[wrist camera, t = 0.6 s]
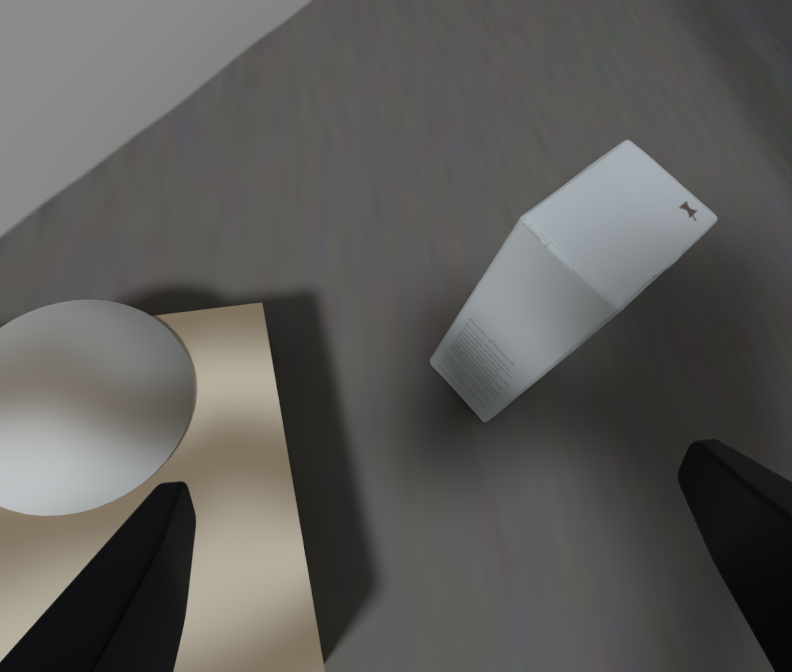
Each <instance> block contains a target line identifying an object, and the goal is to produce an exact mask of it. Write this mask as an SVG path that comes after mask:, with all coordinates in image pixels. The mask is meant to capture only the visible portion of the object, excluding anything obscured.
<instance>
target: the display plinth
mask: <svg viewBox="0 0 792 672" xmlns="http://www.w3.org/2000/svg"><path fill="white" fill-rule="evenodd" d="M177 481H183V482H185V483H186V484H187V486H188V488H189V492H190V495H191V499H192V503H193V506H194V510H195V514H196V531H195V540H194V549H193V558H192V567H191V576H190V584H189V593H188V602H187V610H186V617H185V622H184V627H183V632H182V637H181V641H180V645H179V650H178V654H177V659H176V663H175V667H174V672H325V669H324V663H323V657H322V651H321V645H320V639H319V634H318V628H317V622H316V616H315V610H314V604H313V598H312V592H311V586H310V581H309V575H308V569H307V563H306V557H305V551H304V545H303V539H302V534H301V528H300V522H299V516H298V510H297V504H296V498H295V492H294V487H293V481H292V475H291V469H290V463H289V457H288V451H287V445H286V439H285V434H284V428H283V422H282V416H281V410H280V404H279V398H278V392H277V387H276V381H275V375H274V369H273V363H272V357H271V351H270V345H269V339H268V334H267V328H266V322H265V316H264V310H263V304H262V303H254V304H245V305H237V306H229V307H221V308H213V309H205V310H196V311H188V312H180V313H172V314H164V315H156V316H150V315H148V314H147V313H145V312H143V311H141V310H138V309H136V308H133V307H131V306H128V305H124V304H120V303H117V302H110V301H104V300H74V301H67V302H61V303H56V304H52V305H48V306H45V307H41V308H39V309H36V310H33V311H31V312H28V313H26V314H24V315H22V316H20V317H18V318H16V319H14V320H12V321H10V322H9V323H7V324H6V325H4V326H2V327H1V328H0V662H1V661H2V659H3V658H4V657H5V656H6V655H7V654H8V653H9V652H10V650H11V649H12V648H13V647H14V646H15V645H16V644H17V643H18V641H19V640H20V639H21V638H22V637H23V636H24V635H25V633H26V632H27V631H28V630H29V629H30V628H31V627H32V626H33V624H34V623H35V622H36V621H37V620H38V619H39V618H40V617H41V615H42V614H43V613H44V612H45V611H46V610H47V609H48V608H49V606H50V605H51V604H52V603H53V602H54V601H55V600H56V599H57V597H58V596H59V595H60V594H61V593H62V592H63V591H64V590H65V588H66V587H67V586H68V585H69V584H70V583H71V582H72V581H73V579H74V578H75V577H76V576H77V575H78V574H79V573H80V572H81V570H82V569H83V568H84V567H85V566H86V565H87V564H88V563H89V561H90V560H91V559H92V558H93V557H94V556H95V555H96V554H97V552H98V551H99V550H100V549H101V548H102V547H103V546H104V545H105V543H106V542H107V541H108V540H109V539H110V538H111V537H112V536H113V534H114V533H115V532H116V531H117V530H118V529H119V528H120V527H121V525H122V524H123V523H124V522H125V521H126V520H127V519H128V518H129V516H130V515H131V514H132V513H133V512H134V511H135V510H136V509H137V507H138V506H139V505H140V504H141V503H142V502H143V501H144V500H145V498H146V497H147V496H148V495H149V494H150V493H151V492H152V491H153V489H154V488H155V487H156V486H157V485H159V484H161V483H164V482H177Z"/></svg>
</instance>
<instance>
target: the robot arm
mask: <svg viewBox="0 0 792 672" xmlns="http://www.w3.org/2000/svg"><path fill="white" fill-rule="evenodd" d="M678 481H679V484H680V487H681V489H682V492H683V494H684V496H685V498H686V501H687V503H688V505H689V507H690V510H691V512H692V514H693V517H694V519H695V521H696V523H697V526H698V528H699V530H700V533H701V535H702V537H703V539H704V542H705V544H706V546H707V549H708V551H709V553H710V555H711V557H712V559H713V561H714V563H715V565H716V567H717V569H718V571H719V573H720V574H721V576H722V578H723V580H724V582H725V583H726V585H727V587H728V589H729V590H730V592H731V594H732V596H733V598H734V599H735V601H736V603H737V605H738V607H739V608H740V610H741V612H742V614H743V616H744V617H745V619H746V621H747V623H748V624H749V626H750V628H751V630H752V632H753V633H754V635H755V637H756V639H757V641H758V642H759V644H760V646H761V648H762V649H763V651H764V653H765V655H766V657H767V658H768V660H769V662H770V664H771V666H772V667H773V669H774V671H775V672H792V482H790V481H788V480H787V479H785V478H783V477H781V476H780V475H778V474H776V473H774V472H773V471H771V470H769V469H767V468H766V467H764V466H762V465H760V464H759V463H757V462H755V461H753V460H752V459H750V458H748V457H746V456H745V455H743V454H741V453H739V452H738V451H736V450H734V449H732V448H731V447H729V446H727V445H725V444H724V443H722V442H720V441H718V440H714V439H709V440H696V441H694V442H692V443H691V444H690V446H689V447H688V450H687V452H686V454H685V457H684V459H683V461H682V464H681V466H680V468H679V471H678ZM195 531H196V514H195V510H194V506H193V503H192V499H191V495H190V492H189V488H188V486H187V484H186V483H185V482H183V481H177V482H164V483H161V484H159V485H157V486H156V487H155V488H154V489H153V491H152V492H151V493H150V494H149V495H148V496H147V497H146V498H145V500H144V501H143V502H142V503H141V504H140V505H139V506H138V507H137V509H136V510H135V511H134V512H133V513H132V514H131V515H130V516H129V518H128V519H127V520H126V521H125V522H124V523H123V524H122V525H121V527H120V528H119V529H118V530H117V531H116V532H115V533H114V534H113V536H112V537H111V538H110V539H109V540H108V541H107V542H106V543H105V545H104V546H103V547H102V548H101V549H100V550H99V551H98V552H97V554H96V555H95V556H94V557H93V558H92V559H91V560H90V561H89V563H88V564H87V565H86V566H85V567H84V568H83V569H82V570H81V572H80V573H79V574H78V575H77V576H76V577H75V578H74V579H73V581H72V582H71V583H70V584H69V585H68V586H67V587H66V588H65V590H64V591H63V592H62V593H61V594H60V595H59V596H58V597H57V599H56V600H55V601H54V602H53V603H52V604H51V605H50V606H49V608H48V609H47V610H46V611H45V612H44V613H43V614H42V615H41V617H40V618H39V619H38V620H37V621H36V622H35V623H34V624H33V626H32V627H31V628H30V629H29V630H28V631H27V632H26V633H25V635H24V636H23V637H22V638H21V639H20V640H19V641H18V643H17V644H16V645H15V646H14V647H13V648H12V649H11V650H10V652H9V653H8V654H7V655H6V656H5V657H4V658H3V659H2V661H1V662H0V672H174V667H175V663H176V659H177V654H178V650H179V645H180V641H181V637H182V632H183V627H184V622H185V617H186V610H187V602H188V593H189V584H190V576H191V567H192V558H193V549H194V540H195Z"/></svg>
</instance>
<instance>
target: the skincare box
mask: <svg viewBox="0 0 792 672" xmlns="http://www.w3.org/2000/svg"><path fill="white" fill-rule="evenodd" d="M716 221H717V216H716V215H715V214H714V213H713V212H712V211H711V210H710V209H708V208H707V207H706V206H705V205H704V204H703V203H702V202H700V201H699V200H698V199H697V198H696V197H695V196H694V195H692V194H691V193H690V192H689V191H688V190H687V189H686V188H684V187H683V186H682V185H681V184H680V183H679V182H678V181H677V180H676V179H674V178H673V177H672V176H671V175H670V174H669V173H668V172H667V171H665V170H664V169H663V168H662V167H661V166H660V165H659V164H658V163H656V162H655V161H654V160H653V159H652V158H651V157H650V156H648V155H647V154H646V153H645V152H644V151H642V150H641V149H640V148H639V147H637V146H636V145H635V144H634V143H633V142H631V141H629V140H625V141H623V142H622V143H621V144H619V145H618V146H616V147H615V148H613V149H612V150H611V151H609V152H608V153H606V154H605V155H604V156H602V157H601V158H599V159H598V160H596V161H595V162H594V163H592V164H591V165H589V166H588V167H587V168H586V169H584V170H583V171H582V172H580V173H579V174H578V175H576V176H575V177H574V178H573V179H571V180H570V181H569V182H567V183H566V184H565V185H563V186H562V187H561V188H559V189H558V190H557V191H555V192H554V193H553V194H551V195H550V196H548V197H547V198H546V199H544V200H543V201H542V202H540V203H539V204H538V205H536V206H535V207H534V208H532V209H531V210H529V211H528V212H527V213H525V214H524V215H522V216H521V217H520V219H519V221H518V222H517V224H516V225H515V227H514V228H513V230H512V231H511V233H510V235H509V236H508V238H507V239H506V241H505V242H504V244H503V246H502V247H501V249H500V250H499V252H498V253H497V255H496V257H495V258H494V260H493V261H492V263H491V264H490V266H489V267H488V269H487V270H486V272H485V274H484V275H483V277H482V278H481V280H480V281H479V283H478V285H477V286H476V288H475V289H474V291H473V292H472V294H471V295H470V297H469V299H468V300H467V302H466V303H465V305H464V306H463V308H462V310H461V311H460V313H459V314H458V316H457V317H456V319H455V321H454V322H453V324H452V325H451V327H450V328H449V330H448V332H447V333H446V335H445V336H444V338H443V340H442V341H441V343H440V344H439V346H438V347H437V349H436V351H435V352H434V354H433V356H432V357H431V358H430V364H431V365H432V367H433V368H434V369H435V370H436V371H437V372H438V373H439V374H440V375H441V376H442V377H443V378H444V379H445V380H446V382H447V383H448V384H449V385H450V386H451V387H452V388H453V389H454V390H455V391H456V392H457V394H458V395H459V396H460V397H461V398H462V399H463V400H464V401H465V402H466V403H467V405H468V406H469V407H470V408H471V409H472V410H473V411H474V412H475V413H476V415H477V416H478V417H479V418H480V419H481V420H482V421H483V422H488V421H489V420H490V419H492V418H493V417H494V416H495V415H497V414H498V413H499V412H500V411H501V410H503V409H504V408H505V407H506V406H507V405H509V404H510V403H511V402H512V401H513V400H514V399H516V398H517V397H518V396H519V395H521V394H522V393H523V392H524V391H525V390H527V389H528V388H529V387H530V386H531V385H533V384H534V383H535V382H536V381H538V380H539V379H540V378H541V377H543V376H544V375H545V374H546V373H547V372H549V371H550V370H551V369H552V368H553V367H555V366H556V365H557V364H558V363H560V362H561V361H562V360H563V359H564V358H566V357H567V356H568V355H569V354H571V353H572V352H573V351H574V350H575V349H577V348H578V347H579V346H580V345H581V344H582V343H584V342H585V341H586V340H587V339H588V338H590V337H591V336H592V335H593V334H594V333H595V332H597V331H598V330H599V329H600V328H601V327H603V326H604V325H605V324H606V323H607V322H609V321H610V320H611V319H612V318H613V317H615V316H616V315H617V314H618V313H619V312H621V311H622V310H623V309H624V308H625V307H626V306H627V305H628V304H629V303H630V302H631V301H632V300H634V299H635V298H636V297H637V296H638V295H639V294H640V293H641V292H642V291H643V290H644V289H645V288H646V287H647V286H649V285H650V284H651V283H652V282H653V281H654V280H655V279H656V278H657V277H658V276H659V275H660V274H662V273H663V272H664V271H665V270H666V269H668V268H669V267H670V266H671V265H673V264H674V263H675V262H676V261H677V260H678V259H679V258H680V257H681V256H682V255H683V254H684V253H685V252H686V251H687V250H688V249H689V248H690V247H691V246H692V245H693V244H694V243H695V242H696V241H698V240H699V239H700V238H701V237H702V236H703V235H704V234H705V233H706V232H707V231H708V230H709V229H710V228H711V227H712V226H713V225H714V224H715V223H716Z"/></svg>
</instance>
